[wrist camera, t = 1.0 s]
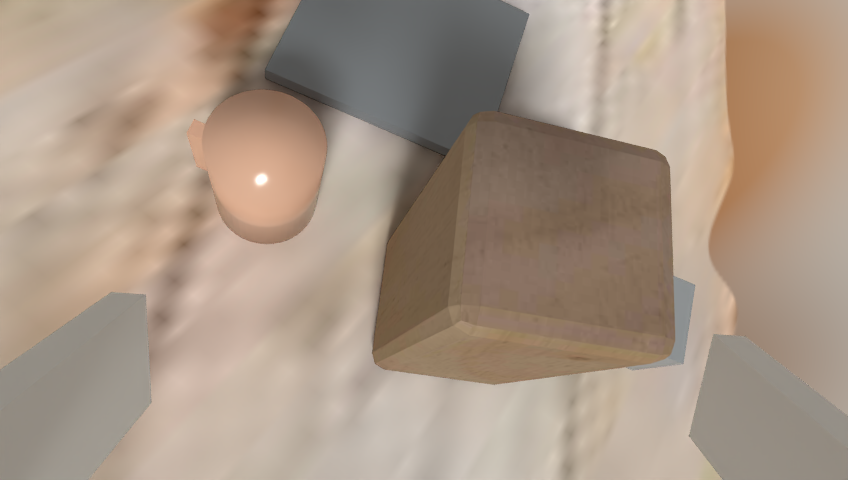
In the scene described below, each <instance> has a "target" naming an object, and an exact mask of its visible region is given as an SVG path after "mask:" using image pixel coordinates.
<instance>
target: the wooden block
mask: <svg viewBox="0 0 848 480" xmlns="http://www.w3.org/2000/svg"><path fill="white" fill-rule="evenodd" d="M674 343H675V311H674V280H673V248H672V217H671V185H670V166H669V164H668V162H667V159H666V157H665V156H664V155H662V154H661V153H659V152H658V151H656V150H653V149H649V148H645V147H641V146H636V145H632V144H628V143H624V142H620V141H616V140H612V139H608V138H604V137H600V136H595V135H591V134H587V133H583V132H579V131H575V130H571V129H567V128H563V127H559V126H554V125H550V124H546V123H542V122H538V121H534V120H530V119H526V118H522V117H518V116H513V115H509V114H505V113H501V112H497V111H484V112H479V113H477V114H474V115H473V116H472V118H471V119H470V121H469V122H468V124H467V125H466V127H465V128H464V130H463V131H462V132H461V134H460V135H459V137H458V138H457V140H456V141H455V143H454V144H453V146H452V147H451V149H450V150H449V152H448V153H447V155H446V156H445V158H444V159H443V161H442V162H441V164H440V165H439V167H438V168H437V170H436V171H435V173H434V174H433V175H432V177H431V178H430V180H429V181H428V183H427V184H426V186H425V187H424V189H423V190H422V192H421V193H420V195H419V196H418V198H417V199H416V201H415V202H414V204H413V205H412V207H411V208H410V210H409V211H408V213H407V214H406V216H405V217H404V219H403V220H402V221H401V223H400V224H399V226H398V227H397V229H396V230H395V232H394V233H393V235H392V236H391V238H390V240H389V241H388V243H387V250H386V257H385V265H384V272H383V279H382V286H381V293H380V301H379V308H378V315H377V322H376V329H375V337H374V344H373V351H372V354H373V358H374V362H375V364H376V365H378V366H380V367H381V368H383V369H385V370H392V371H400V372H407V373H414V374H421V375H428V376H436V377H443V378H450V379H457V380H464V381H472V382H479V383H486V384H493V385H495V384H502V383H510V382H517V381H525V380H532V379H540V378H547V377H555V376H562V375H570V374H578V373H585V372H593V371H600V370H608V369H615V368H623V367H630V366H638V365H645V364H651V363H654V362H658V361H661V360H664V359H666V358H667V357H668V356H670V355H671V353H672V350H673V347H674Z"/></svg>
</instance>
